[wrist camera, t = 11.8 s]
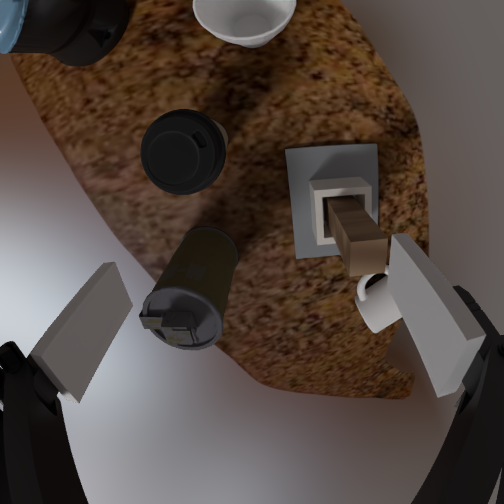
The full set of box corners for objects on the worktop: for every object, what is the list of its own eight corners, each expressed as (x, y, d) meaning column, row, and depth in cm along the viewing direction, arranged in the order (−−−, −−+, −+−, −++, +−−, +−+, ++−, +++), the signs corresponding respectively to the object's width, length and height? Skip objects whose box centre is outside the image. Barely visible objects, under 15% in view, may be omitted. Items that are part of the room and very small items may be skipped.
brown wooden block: (324, 194, 41) (350, 242, 27) (350, 192, 40) (388, 238, 26) (325, 219, 43) (349, 276, 28) (350, 217, 42) (384, 272, 28)
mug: (410, 286, 50) (425, 311, 43) (369, 313, 53) (379, 341, 46) (385, 243, 46) (401, 267, 39) (339, 275, 49) (348, 302, 42)
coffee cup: (251, 128, 39) (240, 136, 25) (220, 180, 43) (195, 215, 30) (196, 98, 37) (158, 94, 24) (167, 152, 41) (122, 174, 28)
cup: (258, 75, 35) (252, 58, 23) (201, 38, 32) (172, 12, 20) (304, 27, 31) (317, -7, 19) (246, -9, 28) (235, -50, 16)
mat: (284, 148, 40) (285, 149, 39) (375, 143, 38) (377, 144, 37) (295, 256, 48) (296, 258, 47) (374, 248, 46) (376, 250, 46)
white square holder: (308, 180, 41) (313, 190, 36) (360, 176, 40) (371, 186, 35) (312, 229, 45) (317, 245, 40) (360, 225, 44) (370, 240, 39)
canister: (233, 223, 46) (209, 300, 28) (241, 278, 51) (226, 366, 33) (171, 229, 47) (119, 301, 30) (184, 281, 52) (148, 362, 34)
